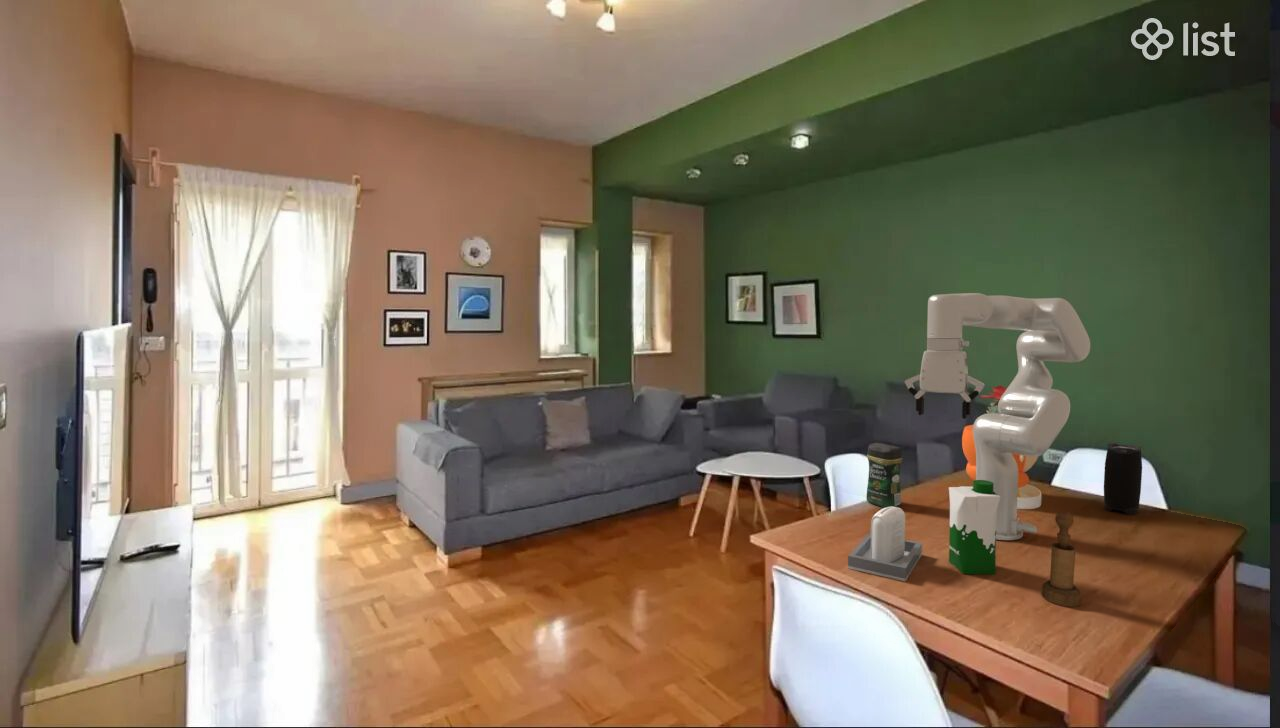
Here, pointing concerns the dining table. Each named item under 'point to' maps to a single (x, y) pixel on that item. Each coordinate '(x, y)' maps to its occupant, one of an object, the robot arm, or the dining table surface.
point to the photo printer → (888, 534)
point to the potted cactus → (1026, 493)
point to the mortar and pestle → (1062, 567)
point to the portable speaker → (1123, 478)
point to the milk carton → (973, 528)
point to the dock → (894, 570)
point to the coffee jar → (884, 475)
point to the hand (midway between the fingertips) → (942, 416)
